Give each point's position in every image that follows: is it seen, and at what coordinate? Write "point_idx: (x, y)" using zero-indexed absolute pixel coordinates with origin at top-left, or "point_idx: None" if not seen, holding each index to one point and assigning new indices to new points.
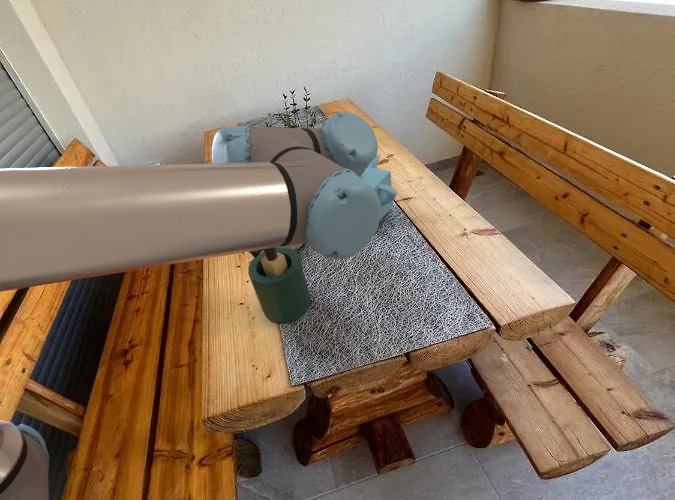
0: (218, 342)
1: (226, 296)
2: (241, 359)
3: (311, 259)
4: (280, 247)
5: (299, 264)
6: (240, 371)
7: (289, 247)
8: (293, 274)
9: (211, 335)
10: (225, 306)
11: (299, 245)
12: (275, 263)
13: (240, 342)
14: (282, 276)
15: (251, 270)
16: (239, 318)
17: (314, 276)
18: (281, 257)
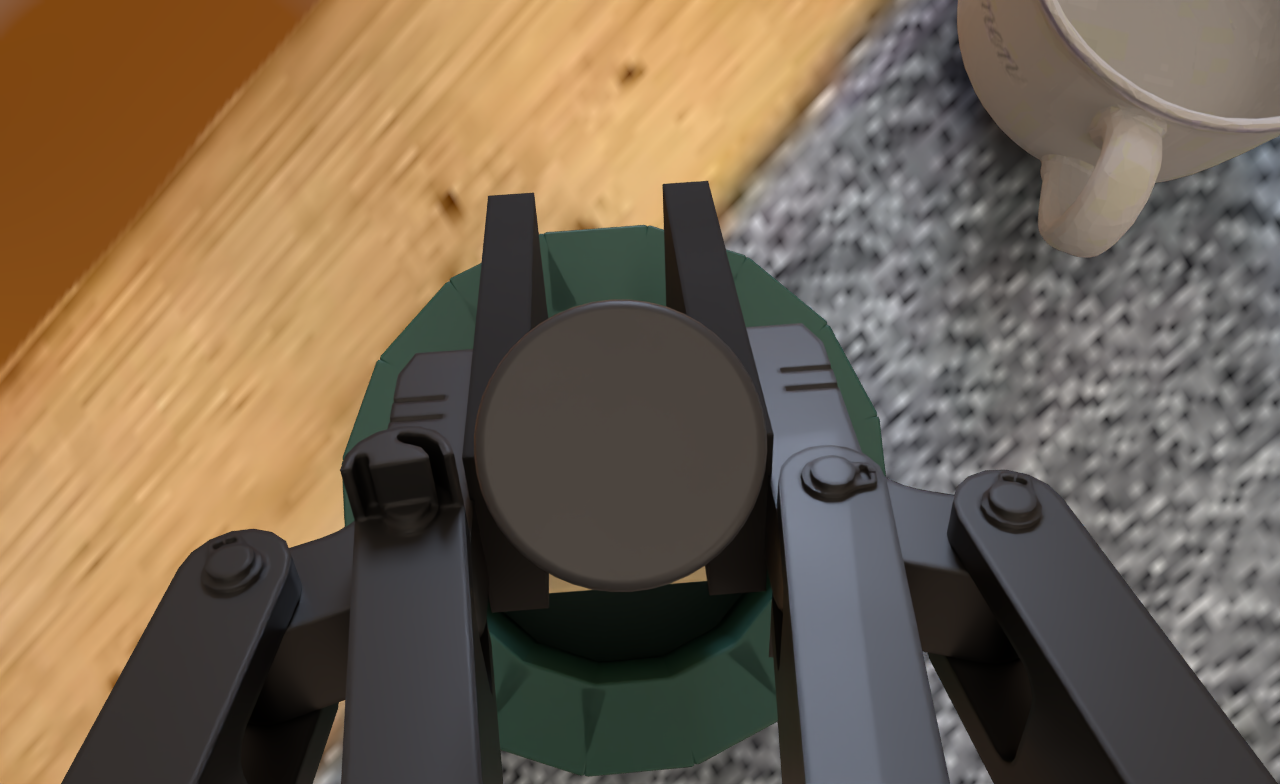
0: (126, 332)
1: (441, 54)
2: (110, 575)
3: (1067, 334)
4: (996, 90)
5: (754, 733)
6: (41, 641)
7: (1043, 148)
8: (617, 771)
9: (142, 244)
10: (371, 123)
11: (1087, 257)
12: (570, 591)
13: (203, 463)
14: (525, 709)
15: (430, 349)
16: (346, 296)
17: (938, 482)
18: (676, 581)
